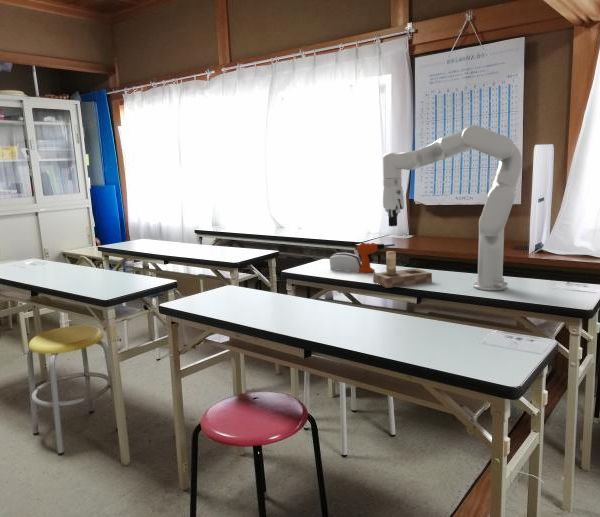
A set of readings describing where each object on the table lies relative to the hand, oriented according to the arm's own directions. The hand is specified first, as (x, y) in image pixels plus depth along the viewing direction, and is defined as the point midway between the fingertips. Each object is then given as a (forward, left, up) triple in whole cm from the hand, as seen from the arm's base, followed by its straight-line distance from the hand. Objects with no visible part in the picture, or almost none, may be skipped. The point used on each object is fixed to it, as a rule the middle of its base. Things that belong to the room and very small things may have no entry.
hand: (392, 225), depth 222 cm
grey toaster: (+37, +6, -26) cm, 45 cm away
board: (0, -4, -25) cm, 25 cm away
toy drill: (+24, -4, -25) cm, 35 cm away
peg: (0, +1, -25) cm, 25 cm away
